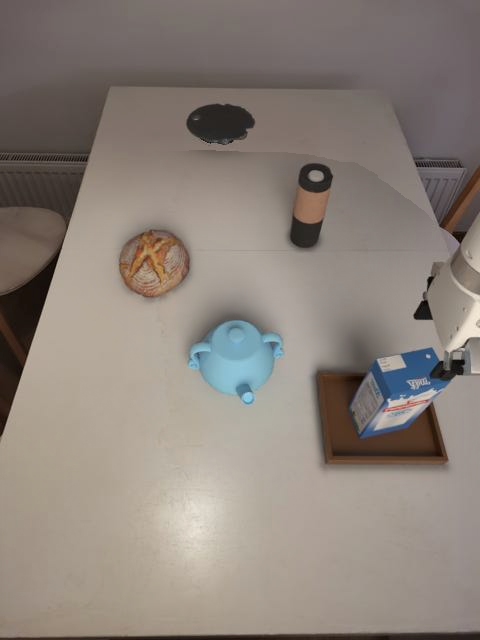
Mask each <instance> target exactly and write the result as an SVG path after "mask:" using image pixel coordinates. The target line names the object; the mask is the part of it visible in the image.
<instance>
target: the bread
mask: <svg viewBox="0 0 480 640" xmlns="http://www.w3.org/2000/svg"><path fill="white" fill-rule="evenodd" d="M118 267H119V273H120V276H121V278H122V280H123V282H124V284H125V286H126V287H127V288H128V289H130V291H132V292H134V293H136V294H138V295H141V296H142V297H144V298H157V297H160V296H162V295H166V294H167V293H169V292H170V291H172V290H173V289H175V287H177V286H179V284H181V283H182V282H183V281H184V279H186V277H187V275H188V273H189V272H190V257H189V253H188V250H187V248H186V247H185V245H184V244H183V241H182V240H181V239H180V237H178V236H177V235H176V234H174V233H172V232H171V231H169V230H165V229H149V231H148V232H147V231H144V232H142V233H139V234H137V235H135V236H134V237H132V238H131V239H129V240H128V241H127V242H126V243H124V245H123V246H122V248H121V250H120V253H119V258H118Z"/></svg>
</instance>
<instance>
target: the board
mask: <svg viewBox="0 0 480 640" xmlns="http://www.w3.org/2000/svg"><path fill="white" fill-rule="evenodd" d="M195 119H198V120H195ZM185 125H186V126H185V127H186V129H187V130H188V132H189V133H190V134H191V135H192V136H194V137H196V138H197V137H198V138H200V139H201V140H203V141H205V142H207V143H210V144H211V143H218V144H222V145H227V144H229V143H232V142H233V141H234V140H241V141H244V140H245V139H246V138H247V137H248V134H249V133H248V132H249V131H248V130H250V129H254V128H255V126H256V120H255V118H254V117H253V115H252V114H251V112H250V111H248V110H247V109H246V108H245V107H242V106H240V105H235V104H231V103H225V104H222V103H218V102H217V103H209V104H204V105H201V106H198V107H197V108H196V109H194V110H192V111H191V113H189V114H188V116H187V119H186V123H185ZM198 138H197V139H198ZM200 139H199V140H200ZM201 140H200V141H201Z"/></svg>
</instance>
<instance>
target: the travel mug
mask: <svg viewBox="0 0 480 640" xmlns="http://www.w3.org/2000/svg"><path fill="white" fill-rule="evenodd" d="M333 179H334V174H333V173H332V171H331V168H330V167H329V166H328V165H327V164H323V163H319V162H310V163H307V164H304V165H303V166H302V167H300V170H299V174H298V179H297V186H296V193H295V196H294V197H295V198H294V204H293V209H292V210H293V211H292V219H291V226H290V227H291V228H290V241H291V243H292V244H293V245H295V246H296V247H298V248H301V249H310V248H313V247H314V246H316V244H317V243H318V241H319V238H320V234H321V231H322V226H323V223H324V219H325V216H326V212H327V207H328V203H329V198H330V193H331V189H332V184H333Z"/></svg>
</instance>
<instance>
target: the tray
mask: <svg viewBox="0 0 480 640" xmlns="http://www.w3.org/2000/svg"><path fill="white" fill-rule="evenodd" d="M367 373H368V372H336V371H335V372H334V371H333V372H331V371H329V372H328V371H327V372H325V371H324V372H323V371H318V373H317V376H316V385H317V395H318V405H319V414H320V422H321V432H322V441H323V450H324V458H325V465H332V466H333V465H337V466H338V465H339V466H341V465H344V466H345V465H346V466H347V465H349V466H351V465H352V466H353V465H355V466H356V465H358V466H359V465H363V466H365V465H366V466H368V465H369V466H377V465H378V466H445V464H447V463H449V457H448V453H447V449H446V445H445V442H444V438H443V435H442V431H441V427H440V423H439V419H438V417H437V412H436V408H435V404H434V400H433V401H432V402H431V403H430V404H429V405H428V406H427V407H426V408H425V410H424V411H423V412H422V413H421V414H420V415H419V416H418V417H417V418H416V419H415V420H414V421H413V422H412V423H411V424H410V425H409V427H408V428H404V429H400V430H395V431H391V432H387V433H383V434H378V435H374V436H370V437H365V438H361V439H359V436H358V434H357V431H356V429H355V426H354V424H353V421H352V419H351V416H350V414H349V411H348V407H349V405H350V403H351V401H352V400H353V398H354V396H355V394H356V393H357V391H358V389H359V387H360V385H361V384H362V382H363V380H364V378H365V377H366V375H367Z"/></svg>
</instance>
